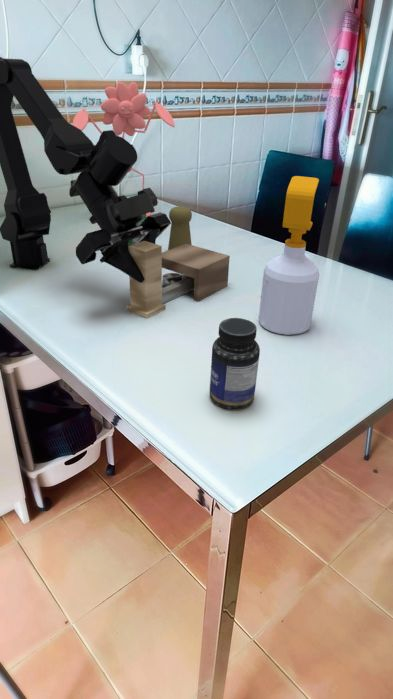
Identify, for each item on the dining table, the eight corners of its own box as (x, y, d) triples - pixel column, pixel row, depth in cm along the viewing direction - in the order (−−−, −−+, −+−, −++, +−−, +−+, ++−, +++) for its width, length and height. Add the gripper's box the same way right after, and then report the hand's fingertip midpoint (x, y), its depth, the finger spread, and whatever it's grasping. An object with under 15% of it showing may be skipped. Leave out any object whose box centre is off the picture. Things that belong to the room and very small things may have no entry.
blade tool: (126, 310, 87) (123, 246, 81) (186, 282, 99) (188, 224, 93) (147, 318, 84) (145, 253, 78) (206, 288, 96) (208, 230, 90)
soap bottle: (313, 317, 87) (337, 176, 74) (306, 340, 79) (332, 187, 67) (264, 308, 89) (280, 170, 76) (253, 330, 82) (269, 181, 69)
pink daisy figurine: (79, 219, 135) (66, 78, 117) (165, 214, 144) (167, 81, 125) (88, 237, 123) (76, 82, 105) (182, 230, 132) (186, 85, 113)
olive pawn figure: (189, 259, 111) (190, 211, 105) (164, 257, 111) (164, 209, 106) (194, 251, 116) (196, 205, 110) (170, 248, 117) (170, 203, 111)
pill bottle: (207, 385, 67) (210, 314, 62) (249, 384, 68) (257, 314, 62) (212, 412, 62) (216, 338, 56) (258, 411, 62) (267, 337, 57)
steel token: (160, 288, 96) (160, 279, 95) (165, 281, 99) (165, 272, 98) (179, 290, 95) (179, 281, 94) (184, 283, 99) (184, 274, 98)
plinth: (154, 286, 96) (154, 255, 93) (185, 272, 103) (186, 243, 100) (197, 301, 91) (199, 269, 88) (227, 286, 98) (229, 255, 94)
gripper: (80, 181, 71) (136, 269, 71) (163, 166, 84) (210, 240, 84) (53, 223, 79) (103, 302, 79) (132, 203, 92) (175, 271, 92)
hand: (151, 277), depth 83 cm, fingers closed on blade tool, 4 cm apart
